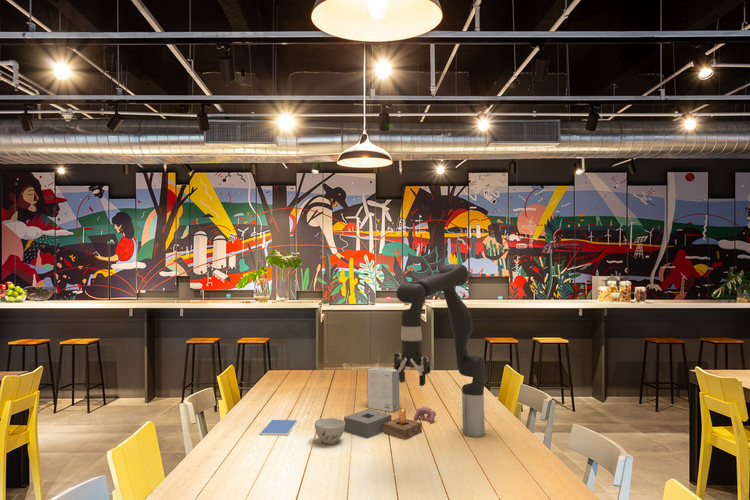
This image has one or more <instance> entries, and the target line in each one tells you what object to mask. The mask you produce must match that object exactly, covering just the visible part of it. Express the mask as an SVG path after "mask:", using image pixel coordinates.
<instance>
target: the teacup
mask: <svg viewBox="0 0 750 500" xmlns="http://www.w3.org/2000/svg"><path fill="white" fill-rule="evenodd" d="M344 427H345V421H344V419H341V418H340V419H339V418H336V417H325V418H323V417H322V418H319V419H317V420H315V421H314V429H315V432H316V435H317V437H318V438H319V439H320V440H321V442H322V443H323V444H325V445H333V444H336V443H337V442H338V440H340V438H341V437H342V435H343V433H344V432H345V431H344ZM320 440H319V441H320Z"/></svg>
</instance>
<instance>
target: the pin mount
mask: <svg viewBox="0 0 750 500" xmlns="http://www.w3.org/2000/svg"><path fill="white" fill-rule="evenodd" d="M422 432H423V423H422V422H421V421H417V420H414V419H408V418H406V425H404V426H403V425H399V417H397V418H394V419H391V421H389V422H386V423H384V424H383V432H382V434H385V435H388V436H391V437H394V438H398V439H401V440H407V439H410V438H412V437H415V436H416V435H418V434H421V433H422Z"/></svg>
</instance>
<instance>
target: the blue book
mask: <svg viewBox="0 0 750 500" xmlns="http://www.w3.org/2000/svg"><path fill="white" fill-rule="evenodd" d="M297 423H298V420H297V419H272V420H270V421H269V423H268V424H267V425H265V427H264V428H263V429H262V430H261V431H260V433H259V435H260V436H271V437H273V436H276V437H277V436H281V437H283V436H288V435H290V433H291V431H293V428H294V427H295V426H296V425H297Z"/></svg>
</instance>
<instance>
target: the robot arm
mask: <svg viewBox="0 0 750 500" xmlns="http://www.w3.org/2000/svg"><path fill="white" fill-rule="evenodd" d="M468 280H469V270H468V268H467V266H466V265H464V264H463V263H462V264H461V263H449V264H448V263H447V264H446V263H445V264H442V265H441V266H440V268H439V271H438V274H432V275H428V276H425V277H422V278H420V279H417V280H414V281H413V280H412V281H407V282H404V283H401V284H400V285H399V286H398V287H397V290H396V297H397V299H398V300H399V301H400V302H401V303H408V304H409V303H410V304H411V305H410V307H409V308H408V309H403V310H402V312H401V329H400V338H401V339H400V347H401V348H400V351H401V352H396V353H394V359H393V360H394V361H393V369H395V370H398V372H399V383H401V384H402V383H405V382H406V371H405V370H406V368H414V369H415V370H416V371H417V372H418V374H419V376H418V379H419V380H418V381H419V383H418V384H419V386H420V387H423V386H425V384H426V375H428V374H431V363H430V362H431V361H430V356H429V355H428V356H423V354H422V351H423V336H422V335H423V334H422V333H423V331H422V312H423V307H424V303H425V300H426V297H429V296H431V295H434V294H436V293H439V292H441V291H442V292H443V295H444V298H445V299H444V300H445V303H446V308H447V311H448V317H449V322H450V328H451V332H452V335H453V336H452V337H453V341H454V347H455V356H456V366H457V369H458V372H459V374H460V375H461V376H463V377H469V378H472V382H470V383H467V384H463V385H462V387H461V398H462V399H461V400H462V402H461V403H462V404H461V408H462V409H461V411H462V415H461V417H462V420H461V421H462V434H463V435H465V436H467V437H472V438H479V437H483V436H485V433H486V432H485V431H486V427H485V418H486V417H485V397H484V393H485V392H484V390H485V381H486V379H485V378H486V364H485V363H486V362H485V359H484V358H483V357H482V356H480V355H479V356H478V355H474V354H473V355H471V354H469V353H468V349H467V348H468V342H469V339H470V337H471V335H472V333H473V330H474V324H473V323H474V322H473V319H472V313H471V311H470V310H469V308H468V306H467V305H466V304H465V302H463V300H462V299H461V298H460V296H459V295H458V293H457V291H456V287H460V286H461V287H462V286H464V285H466V284H467V282H468ZM401 361H402V362H401Z"/></svg>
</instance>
